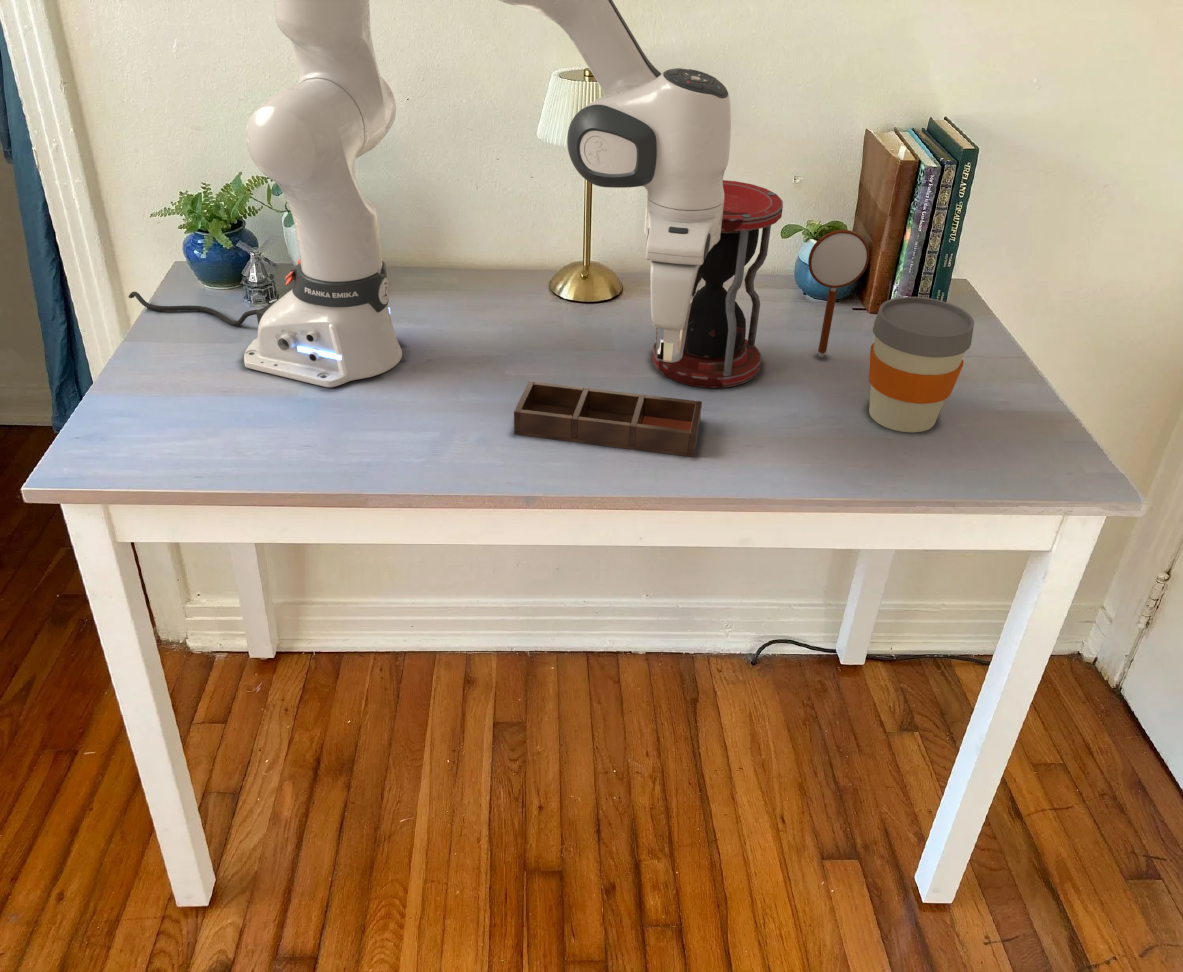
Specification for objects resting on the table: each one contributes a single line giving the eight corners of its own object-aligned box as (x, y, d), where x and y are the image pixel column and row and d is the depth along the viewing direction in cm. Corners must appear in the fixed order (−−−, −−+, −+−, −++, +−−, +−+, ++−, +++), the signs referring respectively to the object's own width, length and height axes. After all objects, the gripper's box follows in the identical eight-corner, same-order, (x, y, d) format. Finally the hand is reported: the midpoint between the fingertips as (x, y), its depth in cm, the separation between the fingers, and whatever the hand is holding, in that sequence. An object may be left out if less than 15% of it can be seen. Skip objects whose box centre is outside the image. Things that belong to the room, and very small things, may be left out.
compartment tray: (514, 434, 131) (513, 411, 129) (529, 403, 138) (529, 380, 136) (693, 457, 128) (696, 434, 126) (699, 423, 135) (702, 401, 133)
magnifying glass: (793, 359, 151) (814, 231, 139) (791, 353, 152) (812, 226, 141) (850, 360, 151) (876, 232, 140) (848, 355, 152) (873, 228, 141)
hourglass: (636, 344, 153) (646, 182, 139) (732, 333, 157) (751, 174, 143) (676, 395, 141) (691, 223, 126) (778, 381, 145) (805, 212, 131)
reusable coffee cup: (965, 436, 134) (994, 335, 125) (877, 442, 132) (900, 339, 123) (924, 390, 144) (949, 293, 135) (842, 395, 142) (861, 297, 134)
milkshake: (691, 368, 123) (698, 292, 117) (648, 362, 124) (653, 287, 118) (695, 351, 126) (702, 277, 121) (653, 346, 127) (659, 272, 122)
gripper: (667, 190, 124) (659, 294, 132) (643, 251, 107) (636, 365, 115) (717, 195, 123) (707, 299, 131) (702, 257, 107) (691, 372, 114)
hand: (673, 331), depth 123 cm, fingers closed on milkshake, 4 cm apart
